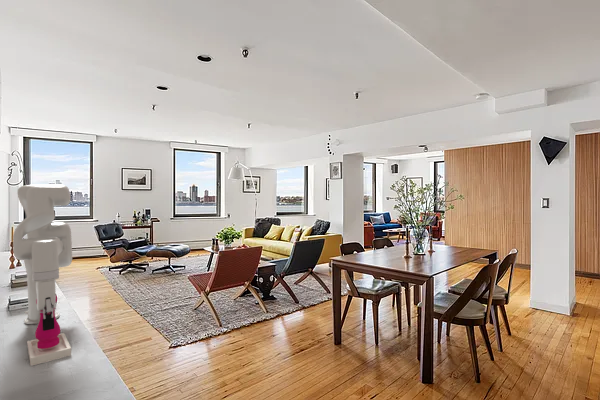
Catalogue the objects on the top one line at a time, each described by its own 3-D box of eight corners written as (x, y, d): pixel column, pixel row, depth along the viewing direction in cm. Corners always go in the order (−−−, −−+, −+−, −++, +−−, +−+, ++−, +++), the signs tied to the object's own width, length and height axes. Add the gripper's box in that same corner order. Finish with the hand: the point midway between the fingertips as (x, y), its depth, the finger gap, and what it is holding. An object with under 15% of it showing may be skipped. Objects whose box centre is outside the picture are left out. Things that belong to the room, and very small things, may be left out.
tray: (27, 348, 126) (27, 341, 126) (64, 339, 133) (64, 332, 133) (30, 366, 112) (30, 358, 112) (71, 355, 119) (71, 348, 119)
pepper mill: (47, 350, 118) (45, 291, 118) (30, 348, 120) (27, 290, 119) (66, 341, 125) (64, 285, 125) (49, 340, 127) (47, 285, 126)
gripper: (30, 273, 126) (32, 323, 127) (34, 281, 113) (36, 337, 114) (56, 269, 131) (58, 318, 132) (62, 277, 118) (63, 331, 118)
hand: (47, 326), depth 123 cm, fingers closed on pepper mill, 5 cm apart
